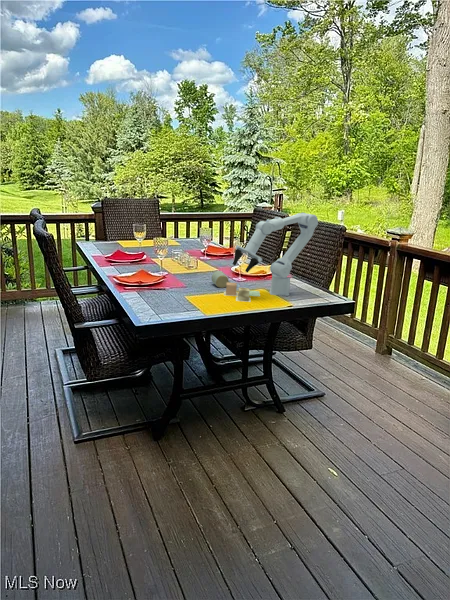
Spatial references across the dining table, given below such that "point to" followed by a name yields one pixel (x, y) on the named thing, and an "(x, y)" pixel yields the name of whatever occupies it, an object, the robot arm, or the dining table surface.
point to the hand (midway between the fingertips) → (239, 268)
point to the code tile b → (231, 295)
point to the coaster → (254, 293)
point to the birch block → (243, 294)
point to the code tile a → (240, 300)
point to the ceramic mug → (220, 279)
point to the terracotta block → (231, 288)
